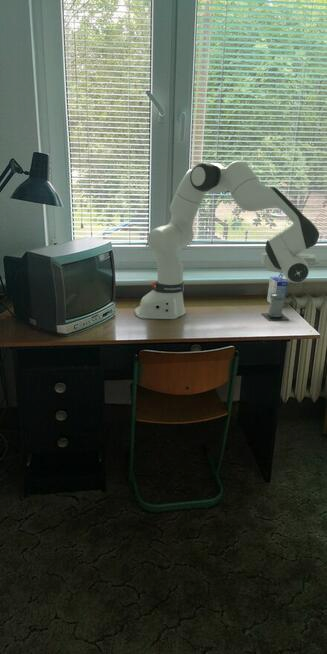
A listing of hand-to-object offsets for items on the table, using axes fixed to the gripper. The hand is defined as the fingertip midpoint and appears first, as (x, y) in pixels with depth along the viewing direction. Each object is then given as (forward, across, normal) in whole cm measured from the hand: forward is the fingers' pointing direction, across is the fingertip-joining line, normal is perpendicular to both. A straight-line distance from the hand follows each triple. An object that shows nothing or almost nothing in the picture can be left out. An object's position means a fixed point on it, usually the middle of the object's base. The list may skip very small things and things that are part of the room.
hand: (285, 255), depth 193 cm
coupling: (+12, 0, +29) cm, 32 cm away
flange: (+12, 0, +30) cm, 32 cm away
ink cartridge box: (+33, -3, +30) cm, 45 cm away
